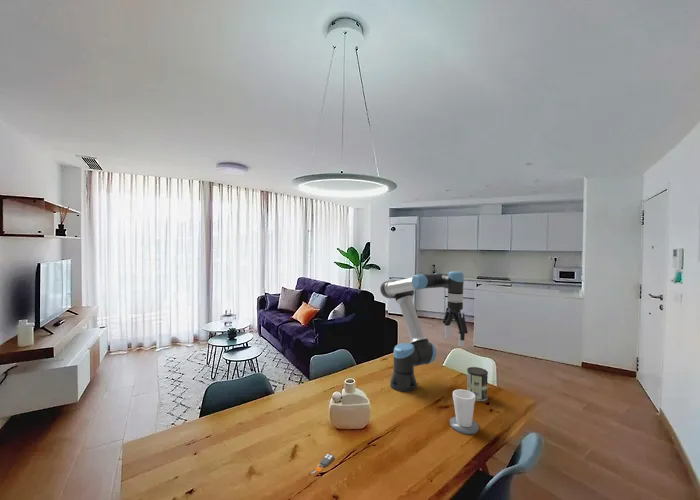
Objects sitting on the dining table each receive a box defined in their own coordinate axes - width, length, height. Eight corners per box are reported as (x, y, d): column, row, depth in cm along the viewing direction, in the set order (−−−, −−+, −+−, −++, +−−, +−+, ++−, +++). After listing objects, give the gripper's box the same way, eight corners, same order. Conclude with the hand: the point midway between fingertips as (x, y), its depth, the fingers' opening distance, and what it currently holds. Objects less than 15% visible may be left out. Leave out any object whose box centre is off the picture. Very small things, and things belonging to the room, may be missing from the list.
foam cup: (474, 419, 140) (474, 391, 140) (476, 430, 131) (476, 400, 131) (452, 416, 143) (452, 388, 143) (453, 427, 134) (452, 397, 134)
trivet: (452, 432, 132) (452, 429, 132) (447, 417, 144) (447, 414, 144) (481, 435, 130) (481, 432, 130) (474, 420, 142) (474, 417, 142)
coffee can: (482, 392, 170) (483, 366, 170) (490, 401, 159) (491, 374, 159) (464, 391, 170) (464, 366, 170) (471, 401, 160) (471, 374, 159)
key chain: (326, 455, 118) (326, 451, 118) (335, 458, 116) (335, 455, 116) (306, 477, 106) (306, 473, 106) (315, 481, 104) (315, 477, 104)
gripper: (476, 306, 147) (474, 349, 148) (449, 296, 172) (448, 334, 172) (461, 306, 146) (460, 350, 147) (437, 297, 170) (436, 334, 171)
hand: (454, 341), depth 160 cm, fingers open, 13 cm apart
